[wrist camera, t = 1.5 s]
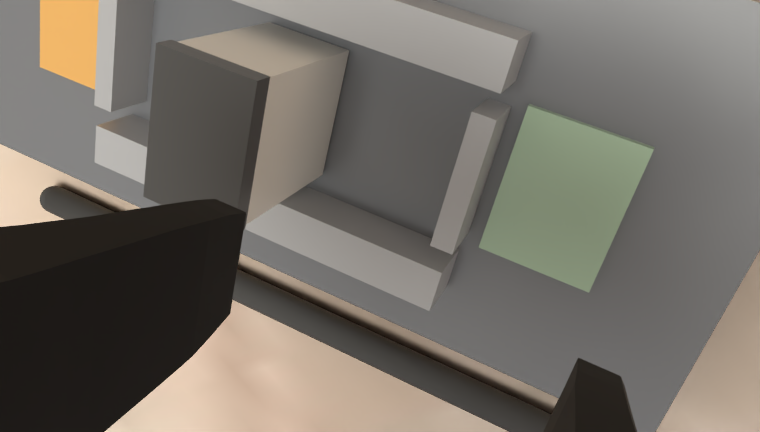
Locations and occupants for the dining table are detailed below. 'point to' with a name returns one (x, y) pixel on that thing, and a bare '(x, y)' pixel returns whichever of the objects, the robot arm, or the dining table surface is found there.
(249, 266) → the dining table surface
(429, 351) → the dining table surface
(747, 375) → the dining table surface
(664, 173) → the breaker panel
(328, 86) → the grey and beige block
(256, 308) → the dark grey rod
